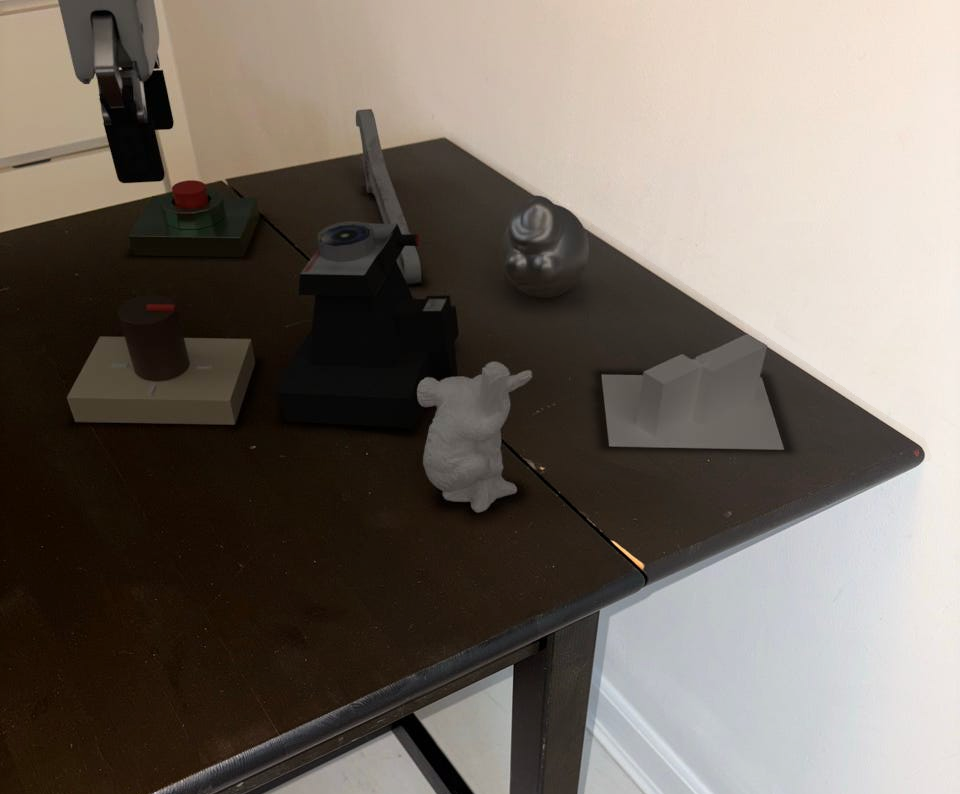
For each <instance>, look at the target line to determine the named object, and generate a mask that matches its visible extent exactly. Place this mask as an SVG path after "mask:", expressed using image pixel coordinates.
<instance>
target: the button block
mask: <svg viewBox="0 0 960 794" xmlns="http://www.w3.org/2000/svg"><path fill="white" fill-rule="evenodd" d="M206 190H207V195H208V200H209V203H207V204H205V205H203V206H201V207H196V208H180V207H177V206H175V202H174V197H173V193H172V191H171V192H169V193H167V194H165V195H164V196H160V195H157V196H156V195H154V196H151V197H150V199H149V200H148V203H147V204H146V206H145V208H144V209H143V210H142V212H141V214H140V216H139V218H138V219H137V221H136V223H135V224H134V226H133V228H132V229H131V231H130V233H129V234H128V238H129V242H130V246H131V249H132V253H133V256H143V257H145V256H148V257H204V258H206V257H207V258H209V257H211V258H212V257H215V258H244V257H245V256H246V252H247V250H248V248H249V246H250V243H251V240H252V237H253V235H254V233H255V231H256V227H257V225H258V222H259V220H260V217H261V215H260V209H259V203H258V198H257V197H230V196H229V197H228V196H227V197H226V196H225V197H223V196H222V194H221V193H220V192H219V191H218V190H216V189H215V190H214V189H211V188H208V187H206Z"/></svg>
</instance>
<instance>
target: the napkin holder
mask: <svg viewBox="0 0 960 794" xmlns="http://www.w3.org/2000/svg"><path fill="white" fill-rule="evenodd" d="M767 348H768V345H767V344H766V343H764V342H763V341H761V340H758V339H757V338H755V337H753V336H752V335H749V334H748V333H745V334H744V335H741V336H740V337H737V338H735V339H733V340H730V341H728V342H726V343H724V344H723V345H721V346H718V347H716V348H714V349H712V350H709V351H707V352H703V353H701V354H699V355H697V356H695V357H694V358H690V357H688V356H687V355H685V354H684V353H681V354H679V355H677V356H675V357H673V358H670V359H668V360H665V361H663V362H662V363H659V364H657V365H655V366H653V367H651V368H648V369H646V370H644V371H643V373H642V374H601V376H600V377H601V383H602V393H603V402H604V403H603V404H604V412H605V420H606V429H607V439H608V446H609V447H617V448H618V447H619V448H627V447H628V448H664V449H665V448H666V449H669V448H670V449H671V448H672V449H673V448H675V449H718V450H719V449H721V450H725V449H726V450H769V451H771V450H773V451H774V450H777V451H784V450H785V448H784V445H783V441H782V437H781V435H780V432H779V429H778V425H777V422H776V419H775V415H774V413H773V409H772V406H771V403H770V399H769V396H768V394H767V390H766V387H765V383H764V381H763V377H762V376H761V373H762V369H763V365H764V362H765V361H764V360H765V358H766V353H767Z"/></svg>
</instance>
